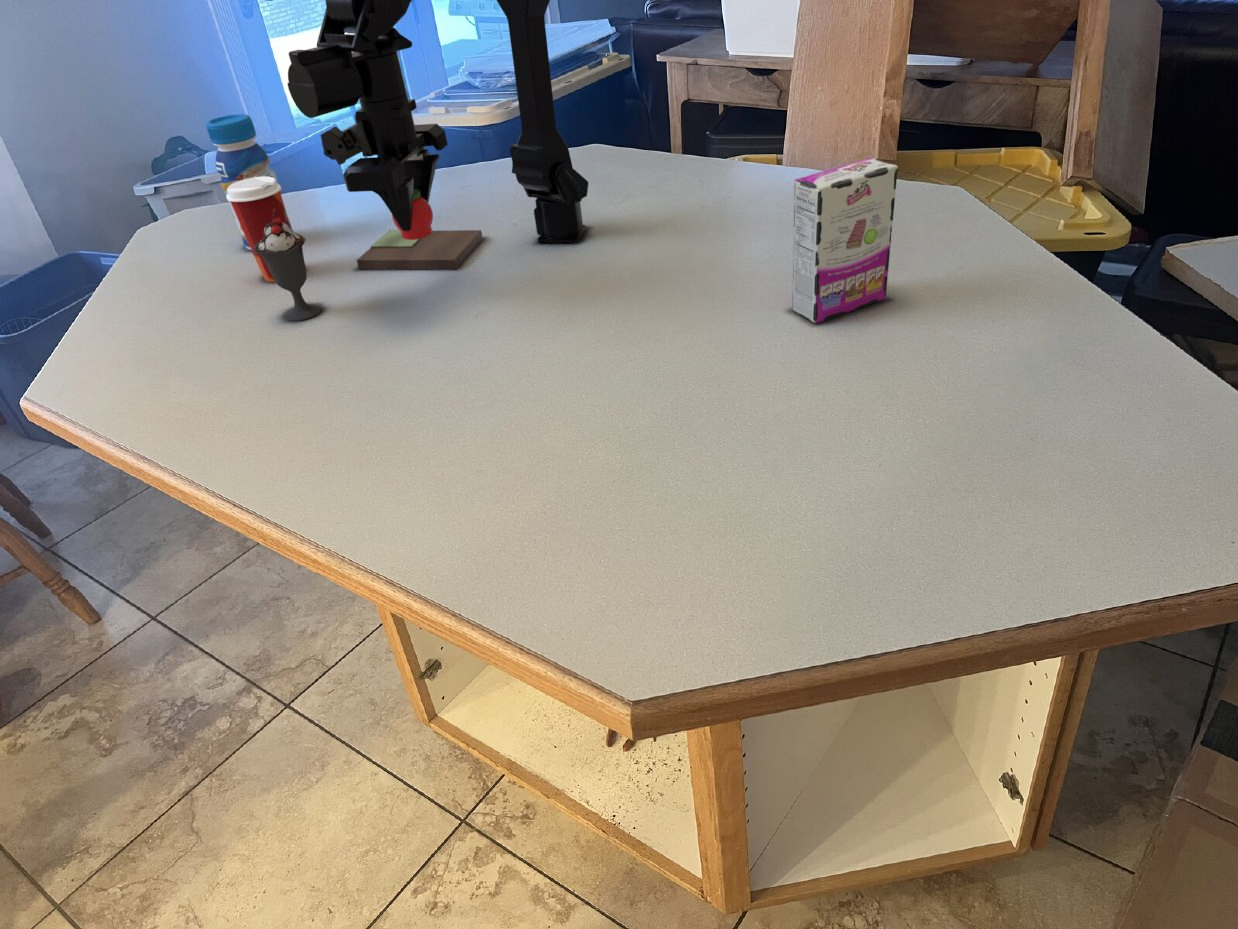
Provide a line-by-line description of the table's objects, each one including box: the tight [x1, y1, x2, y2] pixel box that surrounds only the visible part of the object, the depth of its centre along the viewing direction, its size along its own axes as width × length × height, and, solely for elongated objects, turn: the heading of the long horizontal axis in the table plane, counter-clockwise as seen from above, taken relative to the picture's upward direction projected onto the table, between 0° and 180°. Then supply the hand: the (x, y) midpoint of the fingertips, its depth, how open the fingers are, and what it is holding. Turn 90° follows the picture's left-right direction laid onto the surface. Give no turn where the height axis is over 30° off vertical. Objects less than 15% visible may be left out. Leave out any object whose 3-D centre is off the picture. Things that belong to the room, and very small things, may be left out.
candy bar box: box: [791, 157, 899, 324], centre depth 97 cm, size 11×5×16 cm, turn 117°
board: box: [356, 229, 484, 270], centre depth 128 cm, size 16×12×2 cm
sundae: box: [253, 209, 322, 322], centre depth 110 cm, size 7×7×15 cm
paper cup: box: [226, 176, 290, 283], centre depth 123 cm, size 8×8×14 cm
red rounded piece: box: [391, 189, 434, 240], centre depth 107 cm, size 5×5×6 cm
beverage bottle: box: [205, 113, 294, 251], centre depth 133 cm, size 8×8×20 cm
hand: (414, 222), depth 108 cm, fingers closed on red rounded piece, 5 cm apart
